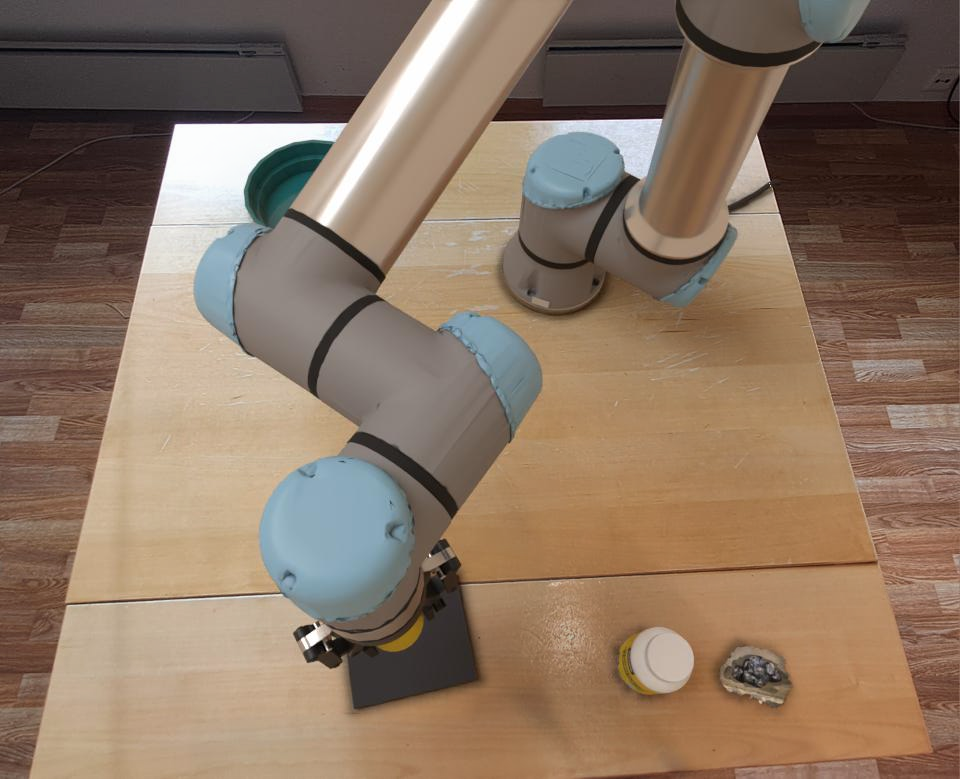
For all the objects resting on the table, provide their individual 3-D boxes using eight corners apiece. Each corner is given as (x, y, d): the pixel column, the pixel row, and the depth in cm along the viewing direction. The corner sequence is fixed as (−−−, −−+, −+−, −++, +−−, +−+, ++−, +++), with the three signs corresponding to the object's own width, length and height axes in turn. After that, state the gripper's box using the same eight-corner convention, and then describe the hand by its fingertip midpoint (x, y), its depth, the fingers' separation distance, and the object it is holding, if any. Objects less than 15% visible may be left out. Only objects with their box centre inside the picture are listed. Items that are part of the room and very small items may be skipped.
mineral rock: (795, 706, 77) (802, 706, 76) (726, 712, 77) (732, 712, 75) (779, 643, 80) (786, 641, 78) (712, 648, 80) (718, 647, 78)
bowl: (369, 158, 111) (365, 131, 106) (388, 252, 103) (384, 228, 98) (249, 175, 109) (239, 149, 104) (259, 273, 101) (249, 250, 96)
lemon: (418, 660, 66) (412, 653, 59) (362, 648, 67) (351, 639, 60) (431, 602, 69) (427, 589, 62) (377, 591, 69) (368, 576, 62)
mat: (456, 574, 83) (456, 573, 82) (477, 679, 78) (477, 679, 77) (340, 600, 81) (339, 599, 81) (354, 709, 76) (353, 709, 76)
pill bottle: (610, 637, 80) (633, 625, 70) (665, 632, 80) (695, 619, 70) (620, 697, 77) (645, 694, 67) (676, 692, 78) (709, 688, 67)
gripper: (456, 469, 50) (457, 542, 71) (217, 610, 45) (294, 644, 66) (513, 556, 47) (497, 606, 68) (265, 715, 43) (329, 717, 64)
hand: (397, 625), depth 67 cm, fingers closed on lemon, 6 cm apart
